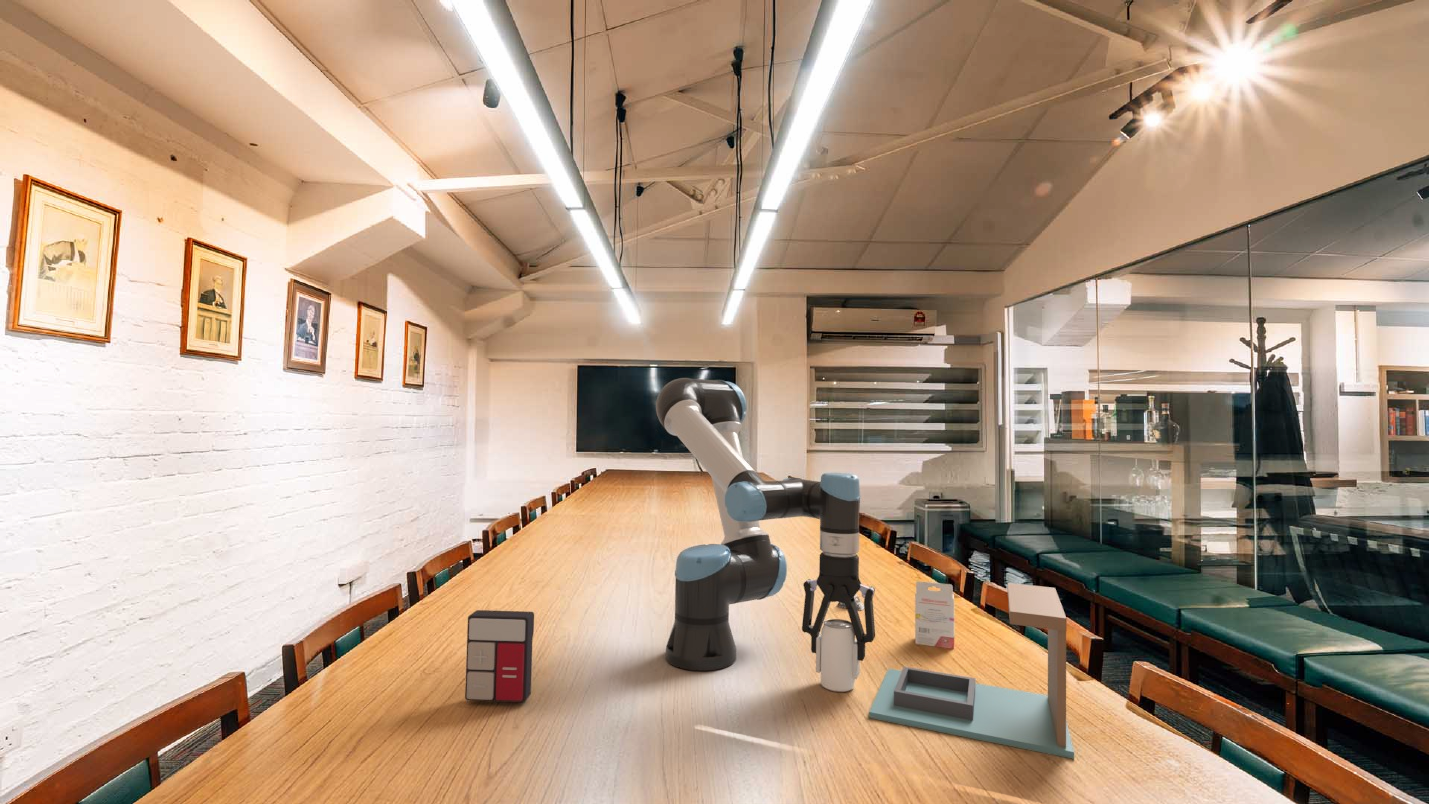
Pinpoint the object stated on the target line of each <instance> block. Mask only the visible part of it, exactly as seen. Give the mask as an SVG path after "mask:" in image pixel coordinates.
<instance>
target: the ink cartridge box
mask: <svg viewBox="0 0 1429 804" xmlns="http://www.w3.org/2000/svg"><path fill="white" fill-rule="evenodd" d="M915 584H916V585H915V588H916V589H915V598H914V599H915V600H914V601H915V602H914V605H915V608H914V609H915V611H914V612H915V613H914V615H915V616H914V618H915V620H914V621H915V622H914V623H915V626H914V628H915V629H914V634H915V635H914V636H915V637H914V639H915V640H914V643H915V644H916V645H921V646H922V645H923V646H930V647H935V648H943V649H944V648H945V649H952V650H954V649H955V594H954V591H953V590H954V589H953V588H954V586H953V585H952V584H950V583H941V582H940V583H939V582H931V581H921V580H918V581H916V583H915ZM929 588H936V589H940V590H933V589H931V590H930V589H929Z"/></svg>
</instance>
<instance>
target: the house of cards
mask: <svg viewBox="0 0 1429 804" xmlns="http://www.w3.org/2000/svg"><path fill="white" fill-rule="evenodd" d="M854 599H855V602H856V608H857V611H858V612H859V611H861V612H862V611H863V610H864V602H863V601H862V600H861V599H860V596H858V595H857V594H855V596H854ZM836 607H837V608H842V609H846V606H845V603H840V602H837V604H836Z"/></svg>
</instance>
